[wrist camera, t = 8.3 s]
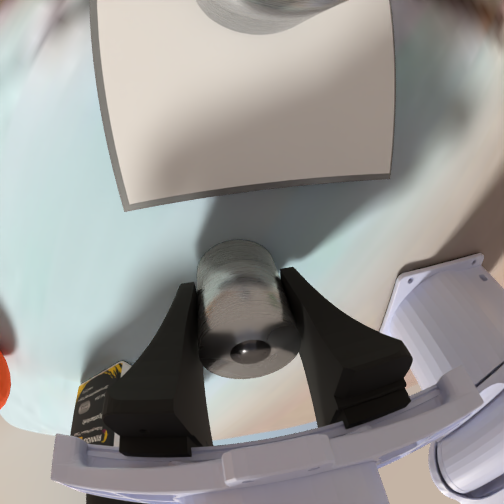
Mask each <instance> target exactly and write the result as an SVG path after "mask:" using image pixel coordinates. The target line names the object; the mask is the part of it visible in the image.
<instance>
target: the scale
mask: <svg viewBox="0 0 504 504" xmlns="http://www.w3.org/2000/svg"><path fill="white" fill-rule="evenodd" d="M90 26H91V41H92V52H93V62H94V70H95V78H96V85H97V92H98V98H99V104H100V110H101V116H102V121H103V126H104V131H105V136H106V141H107V146H108V150H109V155H110V159H111V163H112V167H113V171H114V175H115V179H116V183H117V187H118V191H119V194H120V198H121V201H122V205H123V208H124V212H127V211H132V210H137V209H142V208H148V207H153V206H158V205H164V204H170V203H176V202H181V201H187V200H194V199H200V198H206V197H213V196H220V195H227V194H234V193H241V192H249V191H257V190H265V189H274V188H283V187H292V186H302V185H312V184H323V183H335V182H348V181H363V180H380V179H390V175H391V165H392V155H393V143H394V127H395V101H396V69H395V45H394V30H393V19H392V10H391V2H390V0H348V1H346V2H344V3H341V4H339V5H337V6H335V7H332V8H330V9H328V10H326V11H324V12H322V13H320V14H318V15H316V16H314V17H312V18H310V19H308V20H306V21H304V22H302V23H300V24H299V25H297V26H295V27H293V28H291V29H288V30H286V31H283V32H279V33H275V34H268V35H253V34H245V33H240V32H236V31H233V30H230V29H227V28H225V27H223V26H221V25H219V24H218V23H216V22H214V21H213V20H212V19H210V18H209V17H208V16H207V15H206V14H205V13H204V12H203V11H202V10H201V8H200V7H199V6H198V4H197V2H196V0H90Z"/></svg>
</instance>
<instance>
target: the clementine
mask: <svg viewBox="0 0 504 504" xmlns="http://www.w3.org/2000/svg"><path fill="white" fill-rule="evenodd" d="M10 387H11V379H10V372H9V369H8V365H7V362H6V360H5V358H4V356H3V355H2V353H1V351H0V409H1V408H2V407H3V406H4V405H5V403H6V401H7V399H8V396H9V394H10Z"/></svg>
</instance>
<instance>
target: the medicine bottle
mask: <svg viewBox="0 0 504 504" xmlns="http://www.w3.org/2000/svg"><path fill="white" fill-rule="evenodd" d="M131 367H132V366H131V365H129V364H128V363H126V362H124V361H120V362H118V363H116V364H115V365H113V366H111V367H110V368H108V369H106V370H105V371H103V372H101V373H99V374H98V375H96V376H94V377H93V378H91V379H89V380H88V381H86V382H84V383H82V384H81V385H80V386H79V389H78V394H77V399H76V404H75V410H74V415H73V422H72V428H71V435H70V436H75V437H78V438H80V439H82V440H84V441H85V442H86V443H87V444H94V445H103V446H114V447H119V439H120V436H119V435H118V434H116V433H115V432H114V431H112V430H111V429H110V428H109V427H107V426H106V425H105V424H104V422H103V421H102V410H103V403H104V398H105V394H106V390H107V389H108V388H110V387H111V386H112V385H113V384H114V383H115V382H116V381H118V380H119V379H120V378H121V377H122V376H123V375H124V374H125V373H126V372H127V371H128V370H129V369H130V368H131ZM86 504H148V503H139V502H131V501H125V500H118V499H113V498H107V497H102V496H97V495H92V494H87V493H86Z"/></svg>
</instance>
